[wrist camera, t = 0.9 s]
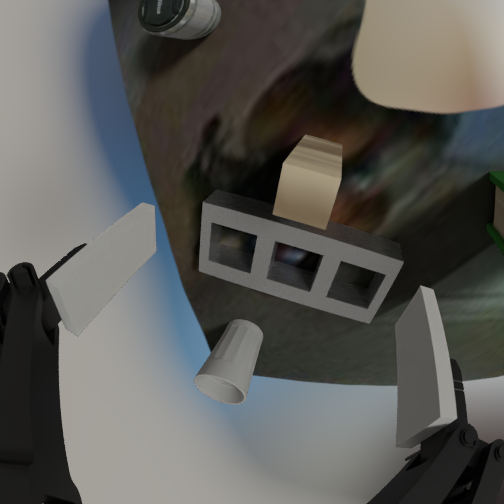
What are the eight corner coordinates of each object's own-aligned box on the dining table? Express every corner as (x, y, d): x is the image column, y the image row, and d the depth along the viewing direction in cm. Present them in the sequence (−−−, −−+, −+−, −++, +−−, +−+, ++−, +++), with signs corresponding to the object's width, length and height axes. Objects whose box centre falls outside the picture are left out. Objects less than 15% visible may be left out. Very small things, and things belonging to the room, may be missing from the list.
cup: (272, 326, 45) (250, 388, 35) (262, 353, 50) (241, 409, 40) (225, 309, 46) (194, 367, 37) (220, 338, 51) (193, 391, 41)
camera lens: (173, 43, 26) (130, 40, 20) (175, -2, 22) (134, -14, 16) (223, 39, 25) (188, 29, 18) (226, -9, 21) (191, -29, 15)
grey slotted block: (216, 189, 35) (202, 202, 32) (399, 243, 31) (404, 262, 28) (210, 254, 41) (198, 271, 38) (369, 302, 37) (369, 323, 34)
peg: (305, 134, 28) (283, 163, 19) (342, 144, 28) (340, 179, 18) (297, 168, 31) (272, 214, 21) (333, 178, 30) (325, 229, 21)
